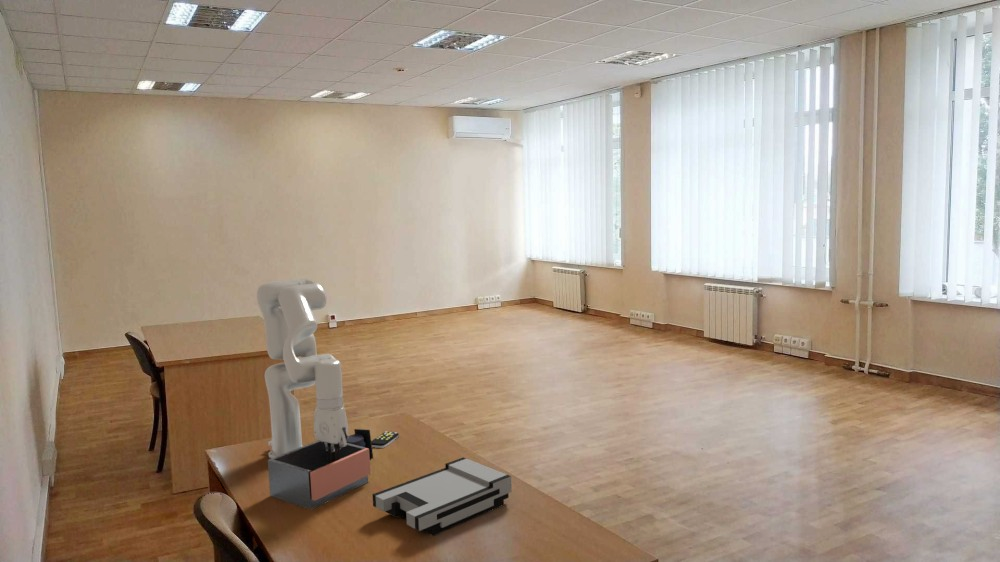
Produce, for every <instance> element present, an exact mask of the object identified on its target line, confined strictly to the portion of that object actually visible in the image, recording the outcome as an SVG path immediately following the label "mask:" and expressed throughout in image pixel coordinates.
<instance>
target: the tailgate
mask: <svg viewBox="0 0 1000 562" xmlns="http://www.w3.org/2000/svg"><path fill="white" fill-rule="evenodd" d="M370 460H371V458H370V456H369V449H368V448H365V449H363V450H360V451H358V452H356V453H354V454H351V455H349V456H347V457H344V458H342V459H340V460H337V461H335V462H333V463H330V464H328V465H326V466H323V467H321V468H319V469H316V470H314V471H312V472H310V478H311V493H312V500H314V501H315V500H317V499H319V498H322V497H324V496H326V495H328V494H330V493H332V492H334V491H336V490H338V489H340V488H343V487H345V486H347V485H349V484H351V483H353V482H355V481H357V480H359V479H361V478H364V477H366V476H368V477H369V476H370V475H371V461H370Z"/></svg>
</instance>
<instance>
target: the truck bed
mask: <svg viewBox="0 0 1000 562" xmlns="http://www.w3.org/2000/svg"><path fill="white" fill-rule="evenodd" d="M335 445H336V444H335ZM365 448H366V447H362V446H358V445H354V444H350V443H347V446H345V447H341V449H340V450H339V454H340V459H342V458H344V457H347V456H349V455H351V454H354V453H356V452H358V451H360V450H363V449H365ZM326 465H328V457H327V451H326V450H325V445H324V444H323V443H322V442H320V441H319V440H316V441H313V442H311V443H308V444H305V445H303V446H302V447H300V448H297V449H295V450H292V451H290V452H287V453H285V454H282V455H279V456H277V457H274V458H272V459H270V458H269V459H268V460H267V468H268V469H267V470H268V481H269V483H268V484H269V496H270V497H271V498H272V497H273V498H276V499H278V500H281V501H284V502H286V503H290V504H293V505H296V506H298V507H301V506H302V507H301V508H304V507H306V508H305V509H307V508H309V509H308V510H310V509H313V508H315V507H317V506H319V507H321V506H323V505H325V504H326V503H325V502H327V501H329V500H331V501H333V500H335V499H337V498H339V497H341V496H344V495H345V493H346V494H347V492H348V491H350V492H351V490H352V491H353V489H354V490H356V489H358V488H360V487H362V486H363V485H366V484H368V483H369V475H368V476H366V477H364V478H361V479H359V480H357V481H355V482H353V483H351V484H349V485H347V486H345V487H343V488H340V489H338V490H336V491H334V492H332V493H330V494H328V495H326V496H324V497H322V498H319V499H317V500H315V501H314V500H312V493H311V478H310V472H312V471H314V470H316V469H319V468H321V467H323V466H326ZM359 486H360V487H359ZM357 487H358V488H357ZM355 488H356V489H355ZM348 493H349V492H348ZM343 494H344V495H343ZM338 496H339V497H338ZM336 497H337V498H336ZM334 498H335V499H334ZM332 499H333V500H332ZM329 502H330V501H329ZM324 503H325V504H324ZM327 503H328V502H327ZM322 504H323V505H322ZM320 505H321V506H320ZM317 508H318V507H317ZM315 509H316V508H315ZM313 510H314V509H313Z"/></svg>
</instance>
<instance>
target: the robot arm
mask: <svg viewBox="0 0 1000 562" xmlns="http://www.w3.org/2000/svg"><path fill="white" fill-rule="evenodd" d="M256 301H257V305H258V308H259V310H260V312H261V313H262V314H261V315H262V317H263V322H264V330H265V340H266V341H265V342H266V351H267V355H268V356H269V358H270V359H272V360H283V362H279V363H276V364H272V365H270V366H268V368H266V370H265V372H264V381H265V385H266V390H267V395H268V402H269V411H270V425H271V427H270V428H271V439H270V441H268V442H267V445H268V446H270V447H271V450H270V451H268V458H269V459H272V458H274V457H277V456H279V455H282V454H285V453H287V452H290V451H292V450H295V449H297V448H300V447H302V446H304V445H303V440H302V439H303V438H302V427H301V426H302V424H301V423H302V422H301V412H300V411H301V410H300V402H299V400H298V398H297V397H296V396H295V395H294V394H292V391H296V390H299V389H305V388H309V387H312V386H315V396H316V397H315V398H316V399H315V400H316V406H315V409H314V415H313V432H314V433H313V435H314V439H315V440H316V441H318V440H319V441H320V442H322V443H323V444H324V445H325V450H326V451H327V457H328V464H330V463H333V462H335V461H337V460H340V454H339V450H340V449H341V447H345V446H347V442H346V440H347V439H348V436H349V425H348V418H347V413H346V408H345V404H344V393H343V392H344V391H343V376H342V375H343V373H342V363H341V361H340V360H338V359H336V358H335V357H334V356H333V354H330V353H323V354H318V352H317V343H316V337H315V334H314V333H315V332H316V331H317V329H318V322H317V320H316V316H315V314H314V312H313V311H316V310H322V309H324V308H325V307H326V305H327V295H326V291H325V289H324V288H323V286H322V285H321V284H319V282H316V281H313V280H312V279H308V278H297V279H287V280H286V279H285V280H277V281H275V280H274V281H269V282H268V281H267V282H264V283H263V284H261V285H259V286H258V288H257V290H256ZM335 444H336V445H335Z"/></svg>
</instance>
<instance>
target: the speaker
mask: <svg viewBox="0 0 1000 562" xmlns="http://www.w3.org/2000/svg"><path fill="white" fill-rule="evenodd" d="M371 441H372V438H371V430H370V429H362V428H354V434H350V435H348V439H347V440H346V442H347V443H350V444H354V445H358V446H362V447H366V448H368V449H369V456H370V459H373V458H374V452H373V447H372V444H371Z"/></svg>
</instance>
